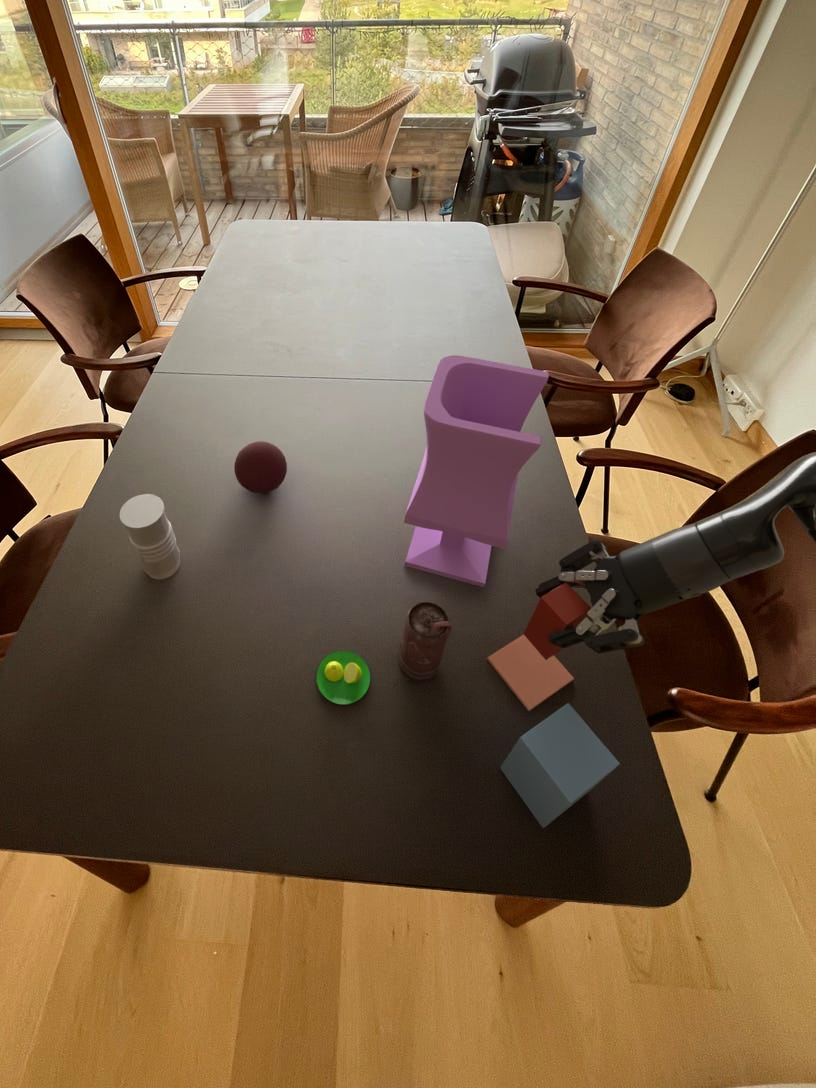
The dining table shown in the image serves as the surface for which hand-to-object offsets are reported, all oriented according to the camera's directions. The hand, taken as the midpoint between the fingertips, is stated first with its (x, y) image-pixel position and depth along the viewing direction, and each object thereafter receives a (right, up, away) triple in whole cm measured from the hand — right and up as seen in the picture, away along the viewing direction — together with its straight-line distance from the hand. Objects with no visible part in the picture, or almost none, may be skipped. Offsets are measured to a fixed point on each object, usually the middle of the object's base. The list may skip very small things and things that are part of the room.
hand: (545, 617), depth 75 cm
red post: (+2, -4, +4) cm, 6 cm away
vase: (-7, +5, +27) cm, 29 cm away
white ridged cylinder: (-58, +2, +25) cm, 63 cm away
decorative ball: (-42, +15, +38) cm, 58 cm away
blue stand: (0, -22, +1) cm, 22 cm away
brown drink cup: (-15, -11, +12) cm, 22 cm away
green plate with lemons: (-26, -12, +10) cm, 31 cm away
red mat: (+2, -11, +11) cm, 16 cm away
